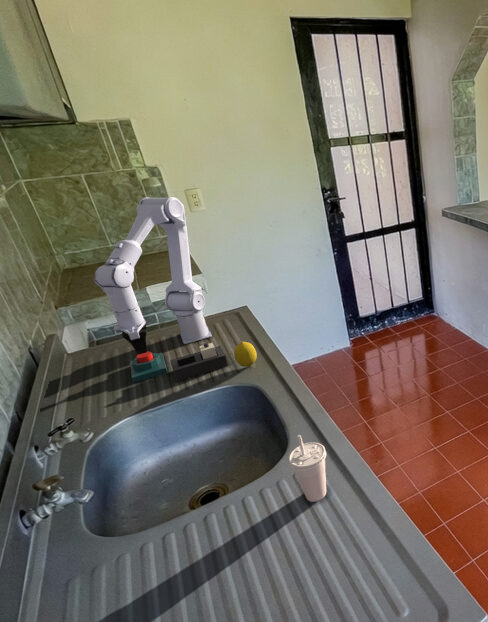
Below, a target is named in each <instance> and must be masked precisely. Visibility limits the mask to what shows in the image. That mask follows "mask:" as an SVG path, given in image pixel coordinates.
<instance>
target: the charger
mask: <svg viewBox="0 0 488 622" xmlns="http://www.w3.org/2000/svg"><path fill="white" fill-rule="evenodd" d="M215 347H216V346H215V345H214V343H213V342H210V343H209V342H204V343H203V344H202V345H199V346H198V348H199V350H200V351H201V354H202V357H203V359H207V358H210V357H213V356H217V354H216V351H215ZM200 351H199V352H200Z"/></svg>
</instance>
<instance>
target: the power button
mask: <svg viewBox="0 0 488 622" xmlns="http://www.w3.org/2000/svg"><path fill="white" fill-rule="evenodd" d="M152 353H153V352H152V351H147V353H143V354H138V353H137V355H136V356H135V358H137V360H138V362H139V363H144V362H148V361H150V360H152V359H153V356H152Z"/></svg>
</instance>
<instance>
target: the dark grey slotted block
mask: <svg viewBox="0 0 488 622" xmlns="http://www.w3.org/2000/svg"><path fill="white" fill-rule="evenodd" d="M214 347H215V351H216V354H217V356H213V357H210V358H207V359H203V357H202V354H201V351H197V352H194V353H190V354H186V355H183V356H179V357H177V358H173V359H170V366H171V368H172V371H173V375H174V378H175V381H176V382H181V381H184V380H188V379H190V378H194V377H197V376H200V375H203V374H206V373H210V372H213V371H217V370H219V369H222V368H225V367H228V366H229V363H228V360H227V357H226V354H225V353H224V350H223V348H222V346H221V345H218V346H214Z"/></svg>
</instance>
